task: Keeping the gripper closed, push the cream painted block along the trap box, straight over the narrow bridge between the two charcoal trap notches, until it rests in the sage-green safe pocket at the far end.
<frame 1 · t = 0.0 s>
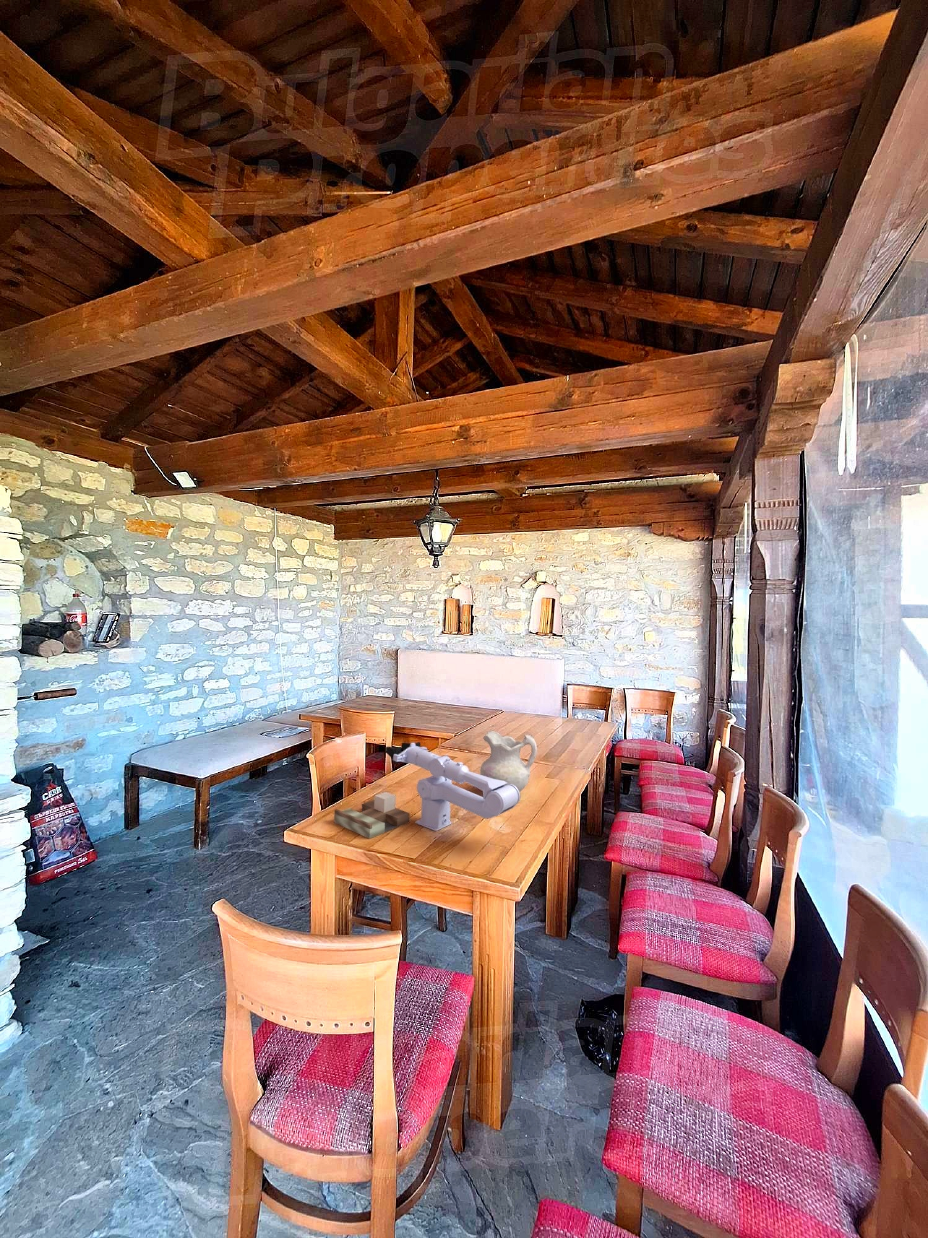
hand: (394, 747, 175), 22 cm above the table, tool horizontal, fingers open, 7 cm apart
ceramic pitcher: (507, 796, 190), on the table
cream block: (384, 808, 166), point 3 cm above the table, touching trap box
trap box: (372, 822, 162), on the table
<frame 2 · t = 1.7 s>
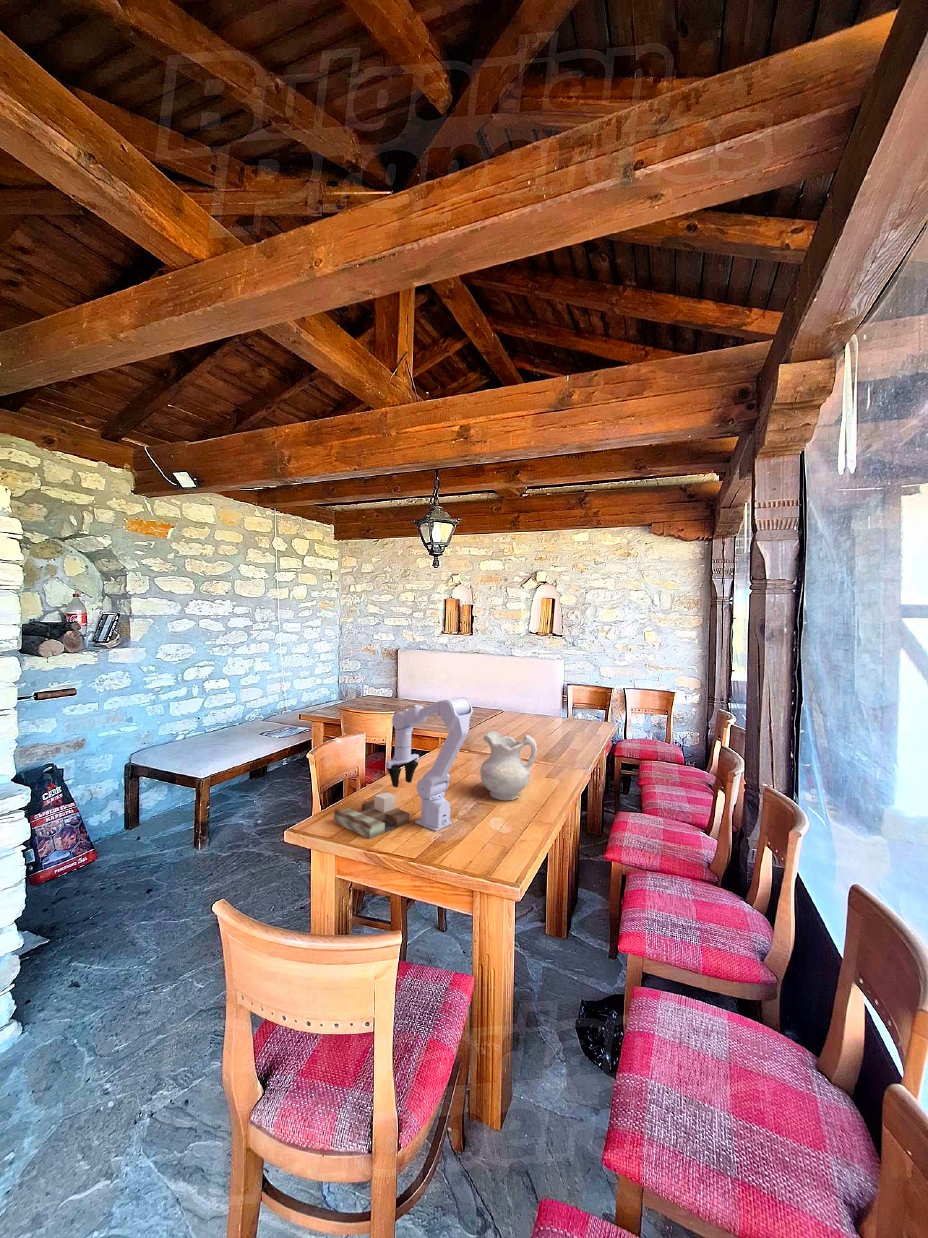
hand: (401, 784, 172), 9 cm above the table, tool pointing down, fingers open, 6 cm apart
nothing on the table moved.
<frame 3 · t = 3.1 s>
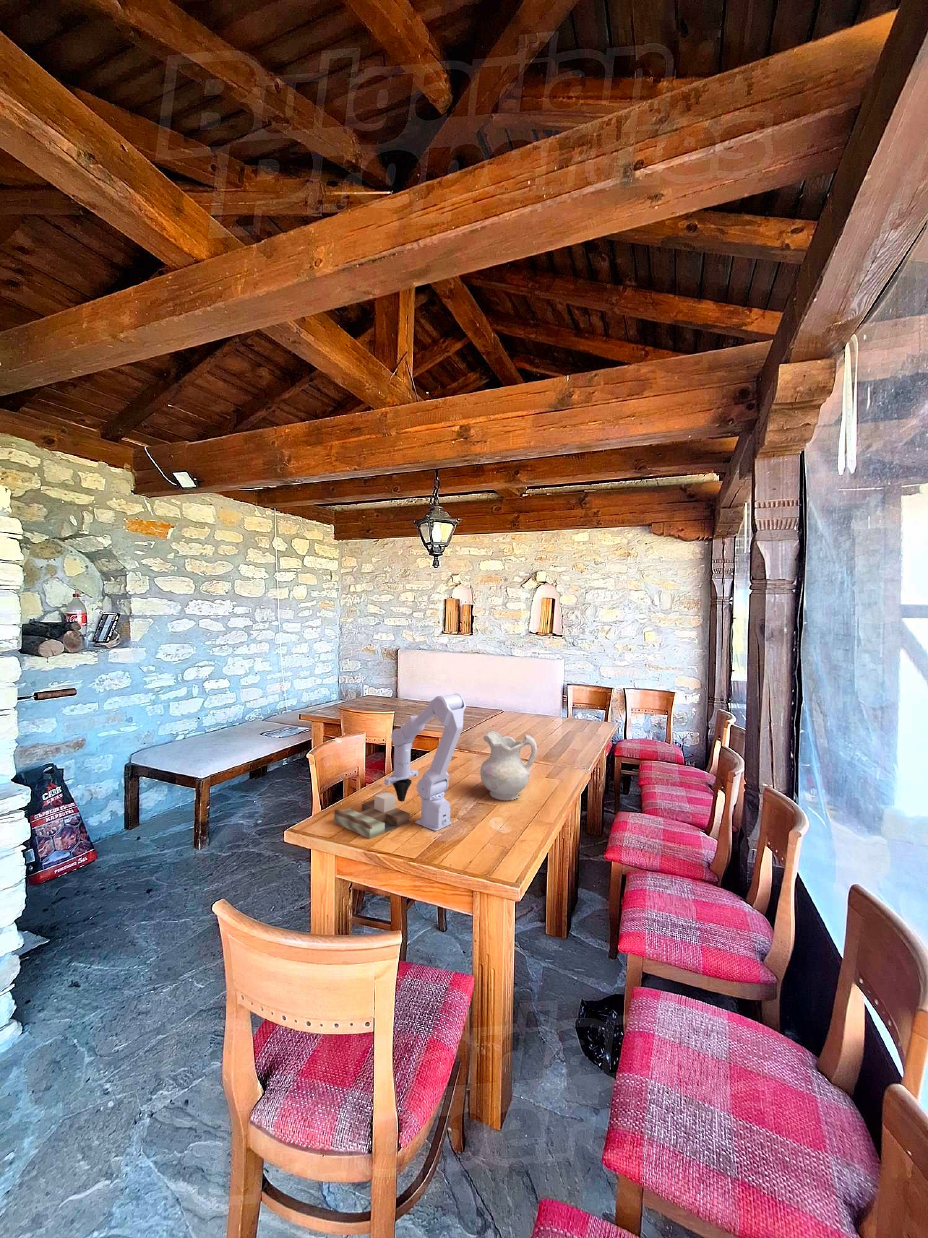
hand: (401, 800, 172), 4 cm above the table, tool pointing down, fingers closed
nothing on the table moved.
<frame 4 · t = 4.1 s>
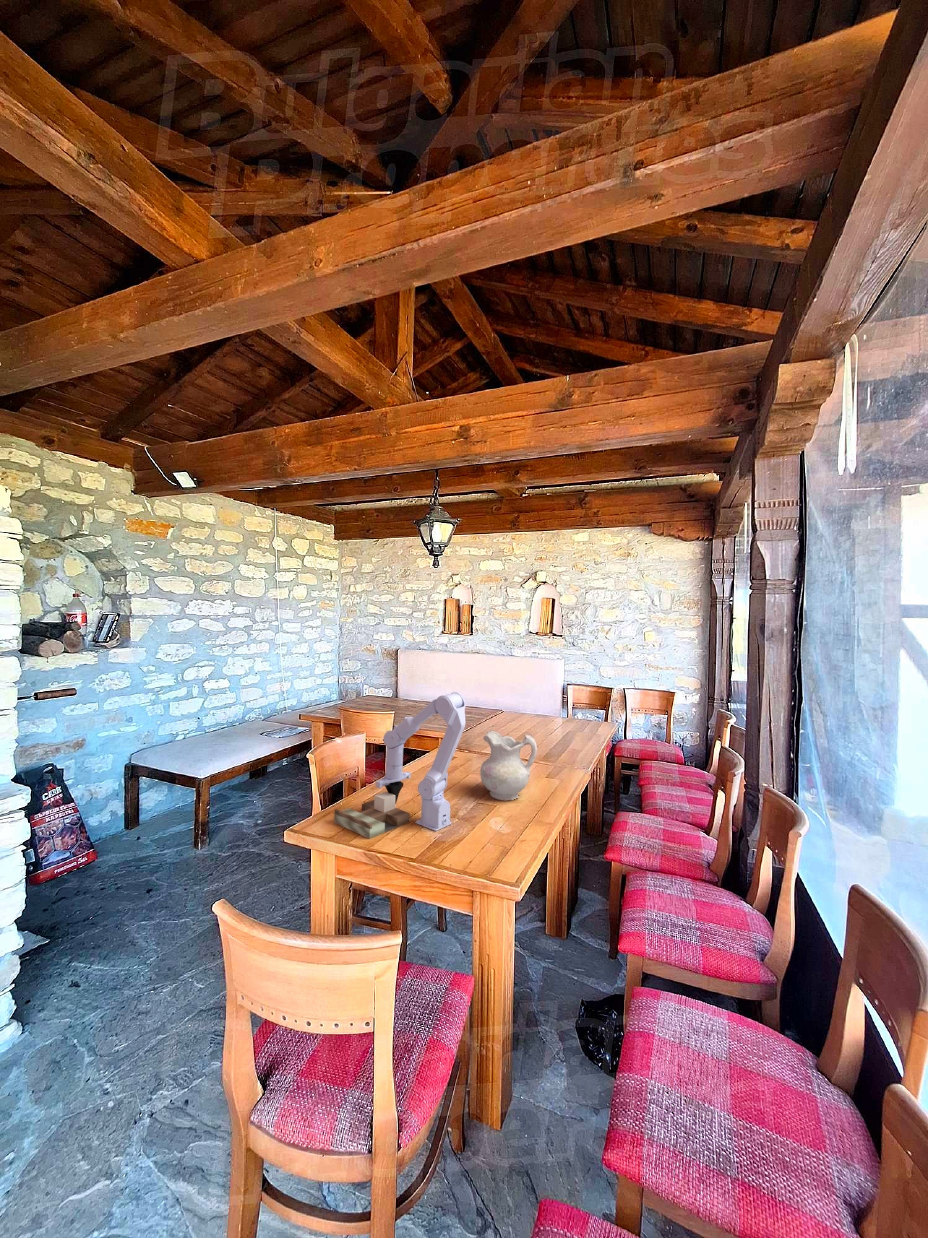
hand: (393, 803, 169), 4 cm above the table, tool pointing down, fingers closed
cream block: (384, 808, 166), point 3 cm above the table, touching gripper, trap box
everything else where it was.
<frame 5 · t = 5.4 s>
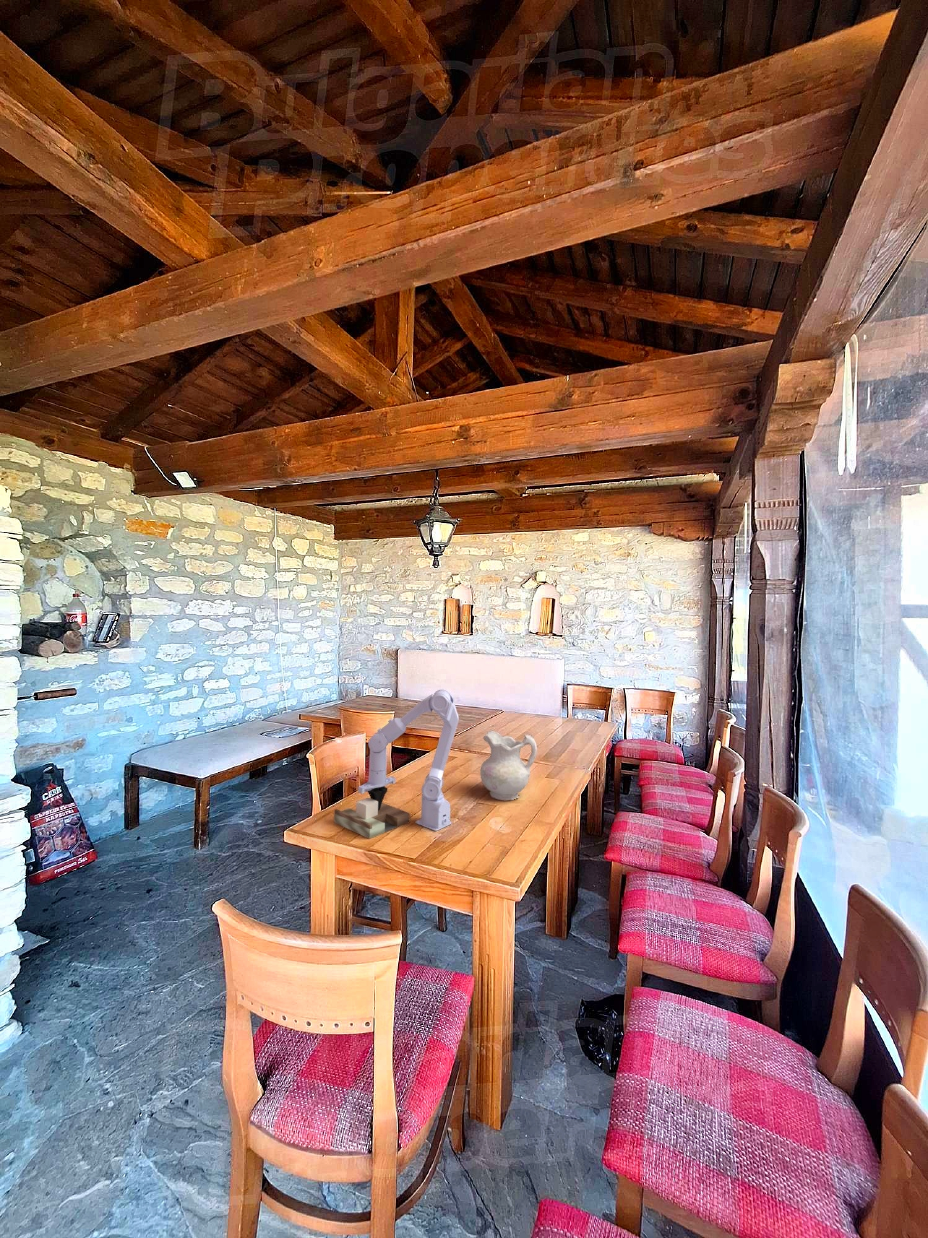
hand: (376, 809, 163), 4 cm above the table, tool pointing down, fingers closed
cream block: (366, 815, 160), point 3 cm above the table, touching gripper, trap box
everything else where it was.
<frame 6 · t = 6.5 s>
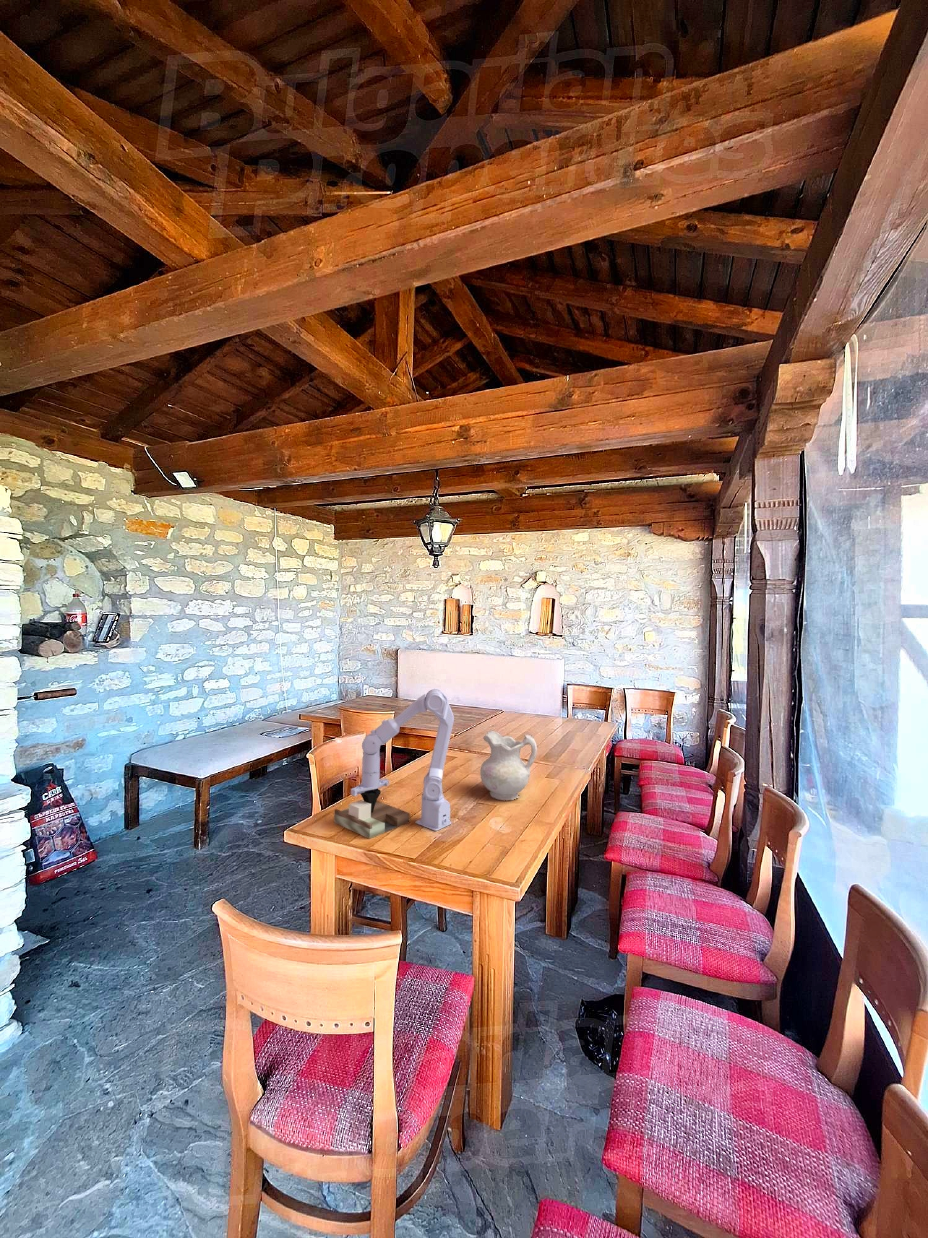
hand: (369, 812, 161), 4 cm above the table, tool pointing down, fingers closed
cream block: (359, 817, 158), point 3 cm above the table, touching gripper, trap box
everything else where it was.
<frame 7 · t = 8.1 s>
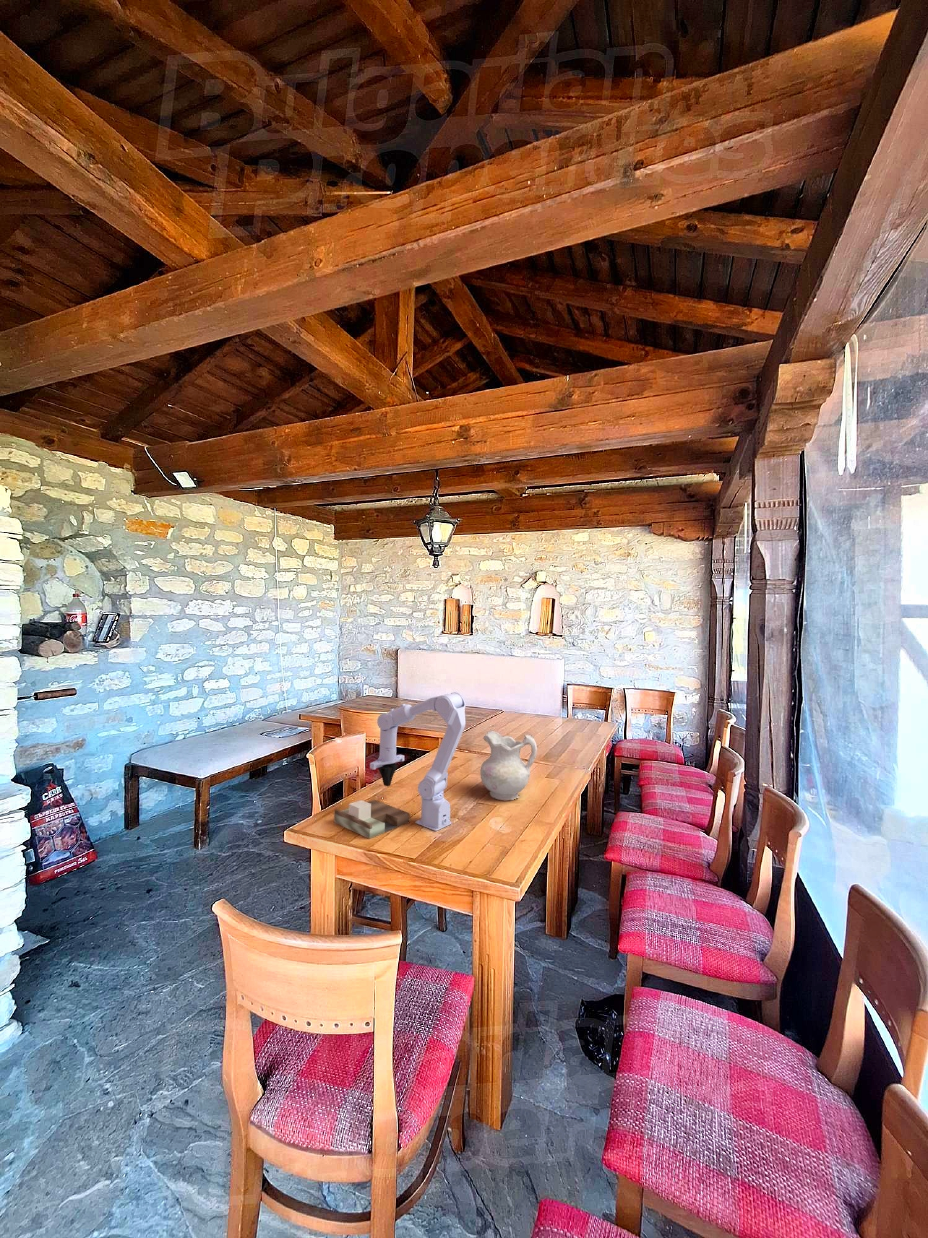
hand: (386, 785, 171), 9 cm above the table, tool pointing down, fingers closed
cream block: (359, 817, 158), point 3 cm above the table, touching trap box
everything else where it was.
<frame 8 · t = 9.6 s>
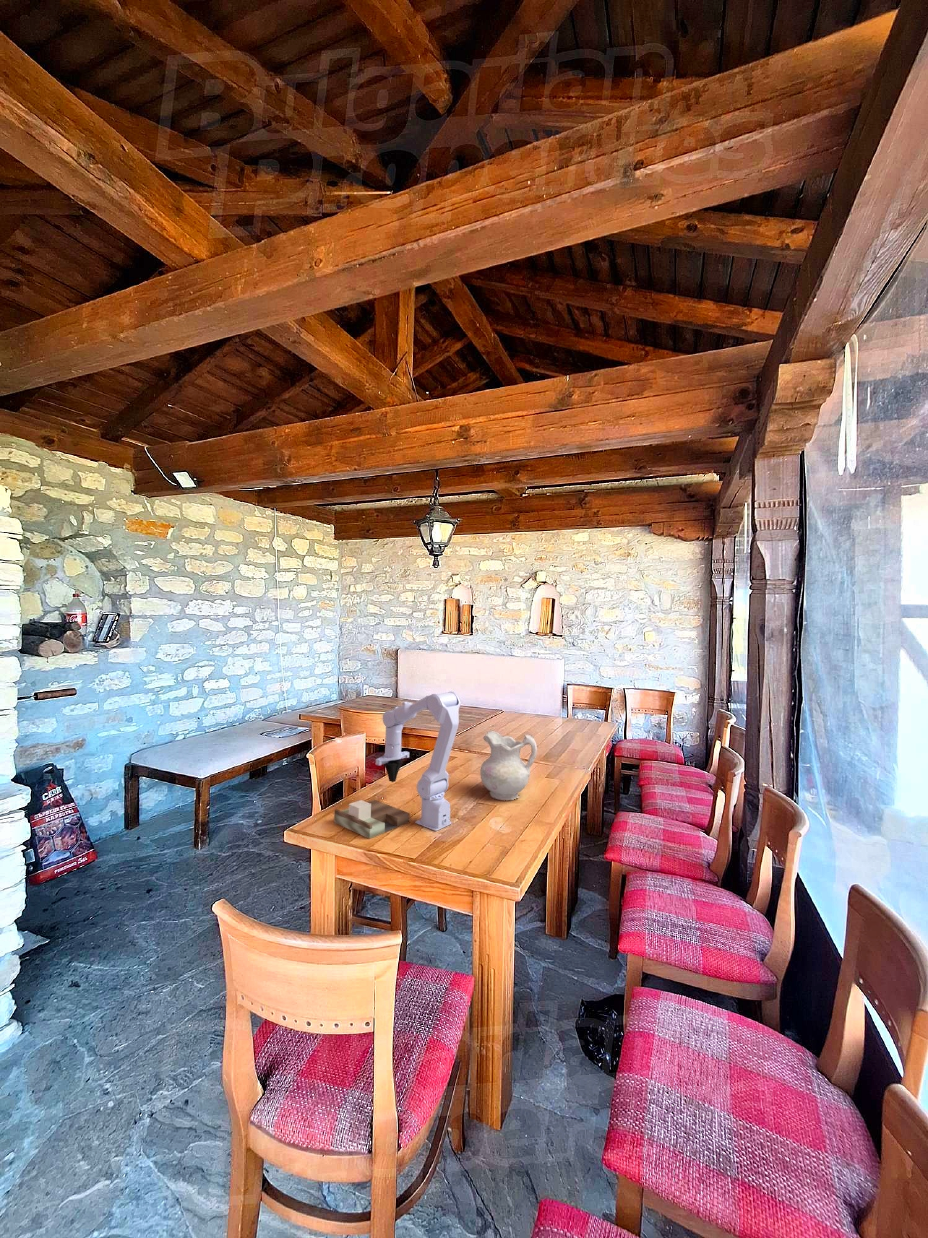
hand: (392, 781, 175), 9 cm above the table, tool pointing down, fingers closed
nothing on the table moved.
at the end: cream block 0.3 cm from the target spot on the trap box, point 3.0 cm above the trap box's base; cream block tilted 0°; cream block moved 10.7 cm from its start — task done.
